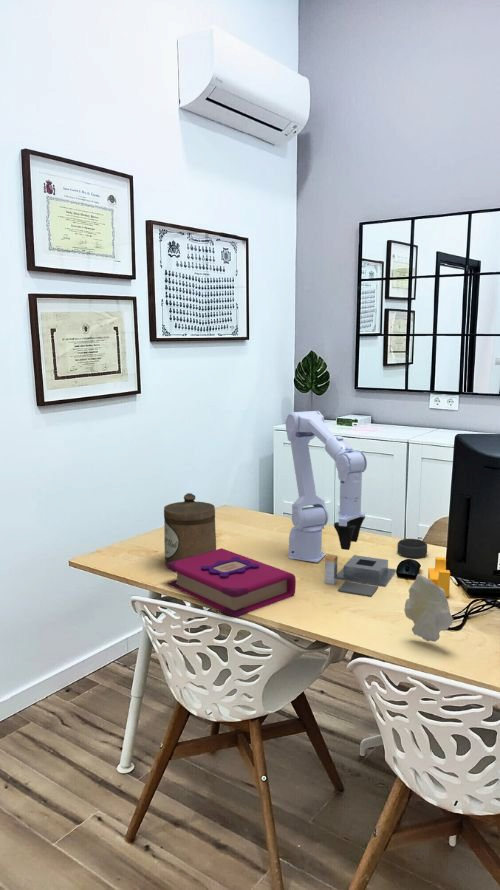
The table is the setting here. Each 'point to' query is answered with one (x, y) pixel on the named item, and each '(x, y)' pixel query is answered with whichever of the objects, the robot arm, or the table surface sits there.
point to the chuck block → (367, 571)
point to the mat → (358, 589)
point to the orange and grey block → (330, 569)
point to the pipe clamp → (440, 575)
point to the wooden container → (188, 529)
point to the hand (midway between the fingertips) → (349, 545)
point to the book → (232, 581)
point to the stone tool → (427, 609)
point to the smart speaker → (412, 548)
